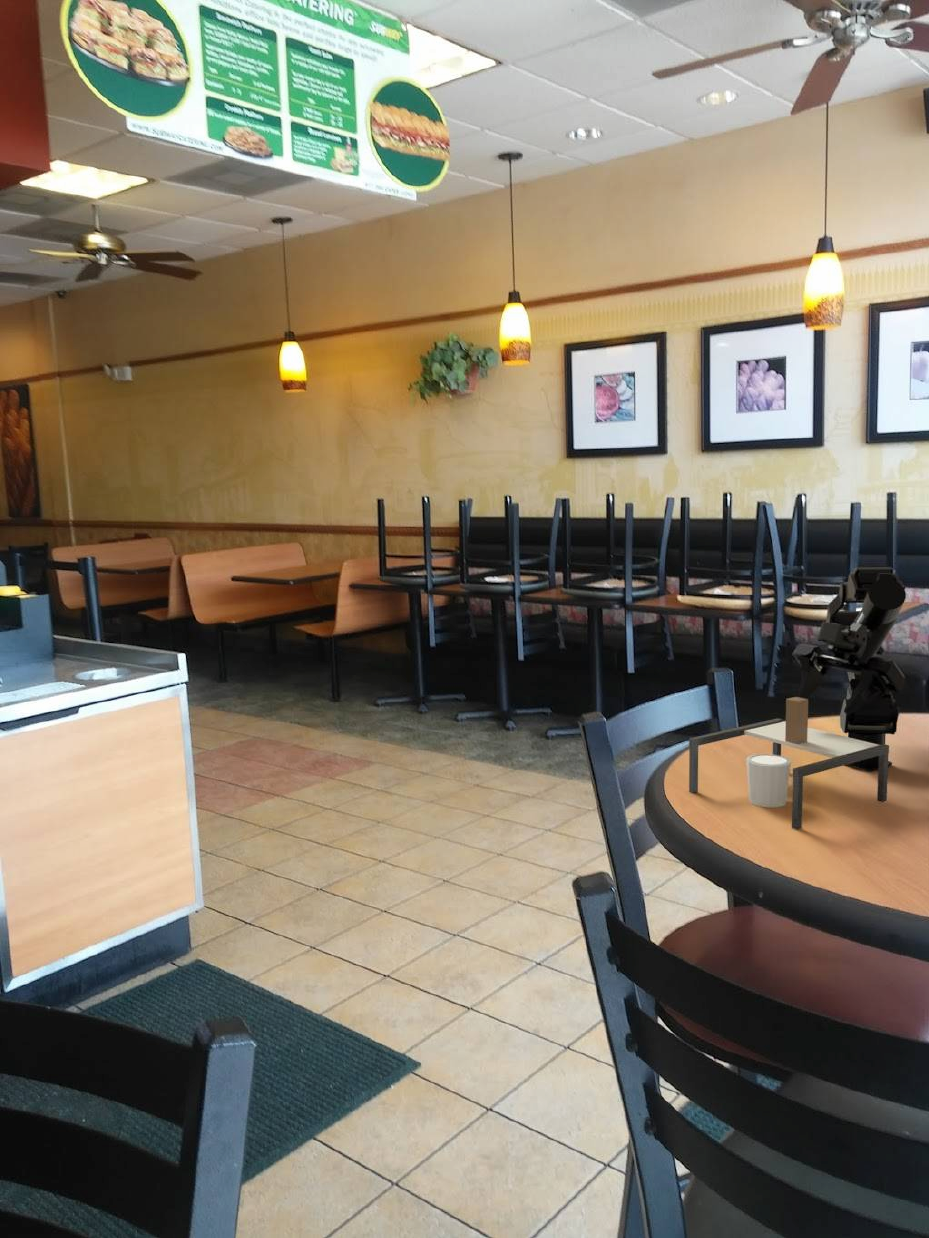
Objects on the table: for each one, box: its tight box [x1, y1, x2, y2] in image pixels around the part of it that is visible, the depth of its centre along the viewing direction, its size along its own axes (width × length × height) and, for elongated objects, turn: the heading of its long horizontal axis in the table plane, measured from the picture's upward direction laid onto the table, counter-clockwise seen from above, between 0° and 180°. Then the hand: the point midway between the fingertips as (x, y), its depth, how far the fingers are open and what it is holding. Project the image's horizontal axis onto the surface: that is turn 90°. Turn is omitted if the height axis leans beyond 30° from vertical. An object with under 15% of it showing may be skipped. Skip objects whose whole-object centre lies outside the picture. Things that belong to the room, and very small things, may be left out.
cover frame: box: [688, 718, 890, 830], centre depth 162 cm, size 22×22×9 cm
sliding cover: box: [744, 696, 878, 758], centre depth 164 cm, size 10×19×8 cm, turn 33°
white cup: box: [745, 753, 792, 809], centre depth 160 cm, size 7×7×7 cm
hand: (822, 707), depth 166 cm, fingers open, 9 cm apart
